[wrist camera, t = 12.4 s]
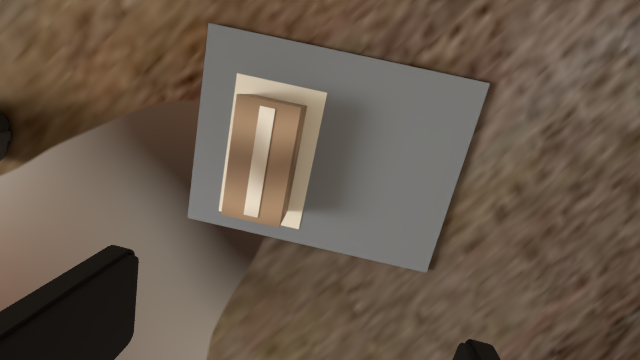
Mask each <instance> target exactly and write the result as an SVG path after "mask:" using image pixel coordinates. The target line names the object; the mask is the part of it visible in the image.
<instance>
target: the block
mask: <svg viewBox="0 0 640 360" xmlns="http://www.w3.org/2000/svg"><path fill="white" fill-rule="evenodd" d="M306 111H307V106H306V105H301V104H296V103H292V102H287V101H282V100H278V99H273V98H268V97H263V96H259V95H254V94H237V96H236V104H235V112H234V119H233V127H232V135H231V142H230V150H229V158H228V165H227V173H226V181H225V189H224V196H223V204H222V212H221V215H225V216H229V217H234V218H238V219H242V220H247V221H251V222H256V223H260V224H265V225H269V226H274V227H278V228H279V227H280V225H281V223H282V221H283V219H284V217H285V215H286V213H287V211H288V207H289V201H290V196H291V191H292V185H293V180H294V175H295V169H296V164H297V159H298V153H299V148H300V143H301V138H302V132H303V127H304V122H305V116H306Z"/></svg>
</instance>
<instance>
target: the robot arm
mask: <svg viewBox="0 0 640 360" xmlns="http://www.w3.org/2000/svg"><path fill="white" fill-rule="evenodd" d="M138 263H139V261H138V257H136V256H135V254H134V251H133V250H131V249H127V248H123V247H120V246H116V245H111V246H108V247H106V248H105V249H103V250H102V251H100V252H98V253H97V254H95V255H93V256H92V257H90V258H88V259H87V260H85V261H83V262H82V263H80V264H78V265H77V266H75V267H73V268H72V269H70V270H69V271H67V272H65V273H63V274H62V275H60V276H59V277H57V278H55V279H53V280H52V281H50V282H49V283H47V284H45V285H44V286H42V287H40V288H39V289H37V290H35V291H34V292H32V293H31V294H29V295H27V296H25V297H24V298H22V299H20V300H19V301H17V302H15V303H14V304H12V305H10V306H9V307H7V308H6V309H4V310H2V311H1V312H0V360H114V359H115V358H116V357H117V356H118V355H119V354H120V353H121V352H122V351H123V349H124V348H125V347H126V346H127V345H128V343H129V342H130V340H131V338H132V336H133V333H134V321H135V306H136V291H137V277H138V276H137V275H138ZM453 360H500V358H499V356H498V354H497V352H496V350H495V348H494V347H493V346H492V345H490V344H487V343H483V342H479V341H476V340H472V339H468V340H467V341H466V343H460V344H459V346H458V348H457V350H456V353H455V355H454V358H453Z"/></svg>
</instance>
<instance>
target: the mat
mask: <svg viewBox="0 0 640 360" xmlns="http://www.w3.org/2000/svg"><path fill="white" fill-rule="evenodd" d="M489 85H490V83H486V82H481V81H477V80H472V79H467V78H463V77H458V76H453V75H449V74H444V73H439V72H435V71H430V70H426V69H421V68H416V67H412V66H407V65H402V64H398V63H393V62H388V61H384V60H379V59H374V58H370V57H365V56H360V55H356V54H351V53H346V52H342V51H337V50H332V49H328V48H323V47H318V46H314V45H309V44H304V43H300V42H295V41H291V40H286V39H281V38H277V37H272V36H267V35H263V34H258V33H253V32H249V31H244V30H239V29H235V28H230V27H225V26H221V25H216V24H211V23H209V24H208V34H207V43H206V52H205V61H204V71H203V80H202V89H201V99H200V109H199V117H198V127H197V136H196V145H195V154H194V164H193V173H192V182H191V191H190V201H189V210H188V218H191V219H196V220H200V221H205V222H208V223H213V224H217V225H221V226H226V227H230V228H234V229H239V230H243V231H248V232H252V233H256V234H260V235H265V236H269V237H273V238H278V239H282V240H286V241H291V242H295V243H299V244H304V245H308V246H312V247H317V248H321V249H325V250H330V251H334V252H338V253H343V254H347V255H351V256H356V257H360V258H364V259H369V260H373V261H378V262H382V263H386V264H391V265H395V266H399V267H404V268H408V269H412V270H417V271H421V272H425V273H426V272H427V269H428V266H429V264H430V261H431V258H432V255H433V252H434V249H435V246H436V243H437V240H438V237H439V234H440V231H441V228H442V225H443V222H444V219H445V216H446V213H447V210H448V207H449V204H450V201H451V198H452V195H453V192H454V189H455V186H456V183H457V180H458V177H459V174H460V171H461V168H462V165H463V162H464V160H465V157H466V154H467V151H468V148H469V145H470V142H471V139H472V136H473V133H474V130H475V127H476V124H477V121H478V118H479V115H480V112H481V109H482V106H483V103H484V100H485V97H486V94H487V91H488V88H489ZM237 94H254V95H259V96H263V97H268V98H273V99H278V100H282V101H287V102H292V103H296V104H301V105H306V106H307V111H306V116H305V122H304V127H303V132H302V138H301V143H300V148H299V153H298V159H297V164H296V169H295V175H294V180H293V185H292V191H291V196H290V201H289V207H288V211H287V213H286V215H285V217H284V219H283V221H282V223H281V225H280V227H279V228H278V227H274V226H269V225H265V224H260V223H256V222H251V221H247V220H242V219H238V218H234V217H229V216H225V215H221V212H222V204H223V196H224V189H225V181H226V173H227V165H228V158H229V150H230V142H231V135H232V127H233V119H234V112H235V104H236V96H237Z"/></svg>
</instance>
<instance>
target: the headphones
mask: <svg viewBox="0 0 640 360" xmlns="http://www.w3.org/2000/svg"><path fill="white" fill-rule="evenodd" d="M8 127H9V122H8V120H7V118H6V117H5V116H3V115H2V114H0V161H1V160H2V158H3V157H4V156H5V154H6V151H7V145H8V141H9V140H10V139H11V131H10V130H9V129H8Z"/></svg>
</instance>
